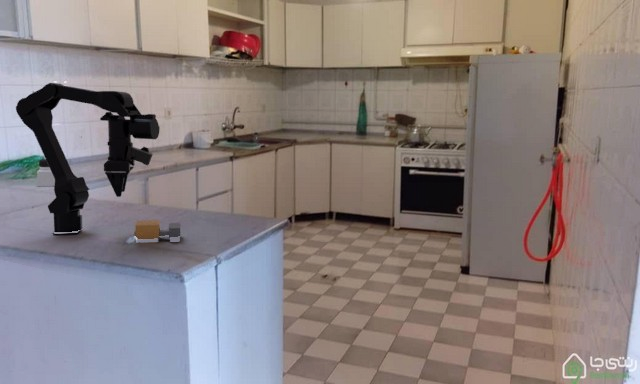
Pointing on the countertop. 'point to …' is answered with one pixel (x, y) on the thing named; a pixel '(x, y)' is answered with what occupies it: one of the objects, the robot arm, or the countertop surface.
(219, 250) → the countertop surface
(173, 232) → the hammer
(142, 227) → the wooden u-channel block
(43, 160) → the medicine bottle
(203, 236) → the countertop surface
